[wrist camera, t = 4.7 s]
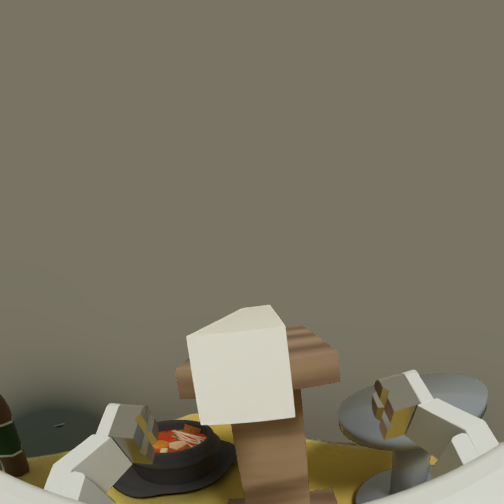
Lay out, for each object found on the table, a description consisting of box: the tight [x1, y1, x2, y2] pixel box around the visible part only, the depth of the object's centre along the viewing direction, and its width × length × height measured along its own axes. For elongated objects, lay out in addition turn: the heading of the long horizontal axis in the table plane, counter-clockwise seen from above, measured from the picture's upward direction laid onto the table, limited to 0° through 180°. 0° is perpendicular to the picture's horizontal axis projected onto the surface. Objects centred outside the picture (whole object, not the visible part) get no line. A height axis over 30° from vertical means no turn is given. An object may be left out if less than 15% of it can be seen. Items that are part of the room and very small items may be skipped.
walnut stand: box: [175, 325, 340, 504], centre depth 24 cm, size 18×14×26 cm
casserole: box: [113, 420, 237, 497], centre depth 42 cm, size 25×19×8 cm
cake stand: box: [338, 374, 488, 504], centre depth 26 cm, size 18×18×16 cm
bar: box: [187, 305, 295, 425], centre depth 21 cm, size 24×3×3 cm, turn 178°
